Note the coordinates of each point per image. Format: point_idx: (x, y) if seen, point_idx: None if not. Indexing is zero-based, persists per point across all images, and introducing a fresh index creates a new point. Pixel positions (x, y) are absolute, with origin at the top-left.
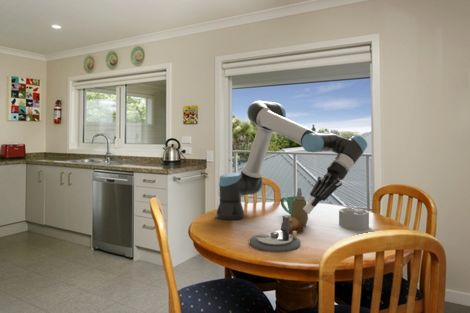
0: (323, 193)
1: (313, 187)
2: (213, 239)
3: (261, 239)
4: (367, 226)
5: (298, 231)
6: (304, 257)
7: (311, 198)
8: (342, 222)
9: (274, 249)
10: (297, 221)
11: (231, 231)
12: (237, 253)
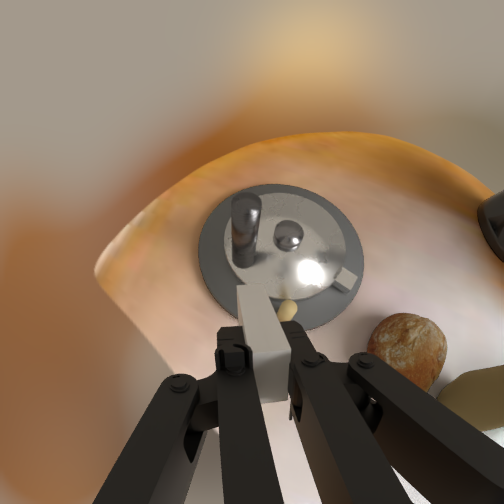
0: (155, 412)
1: (441, 404)
2: (338, 145)
3: (270, 197)
4: None
5: None
6: (136, 275)
7: (278, 336)
8: None
9: (208, 217)
10: (405, 367)
11: (398, 191)
12: (233, 154)
